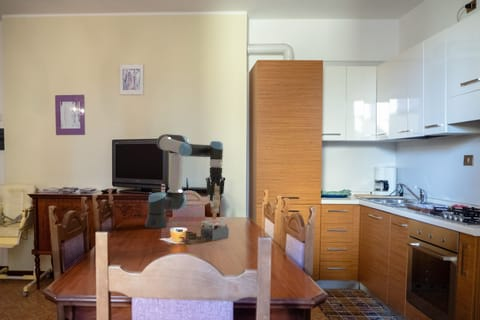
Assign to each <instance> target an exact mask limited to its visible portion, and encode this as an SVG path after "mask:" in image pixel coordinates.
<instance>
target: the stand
mask: <svg viewBox="0 0 480 320" xmlns="http://www.w3.org/2000/svg"><path fill="white" fill-rule="evenodd" d="M185 232H186V237H191V236H197V232H194V231H193V230H192V231H185Z"/></svg>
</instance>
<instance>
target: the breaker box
mask: <svg viewBox="0 0 480 320" xmlns="http://www.w3.org/2000/svg"><path fill="white" fill-rule="evenodd" d="M212 222H218V223H212ZM200 223H201V226H200V236H199V237H202V238H205V239H206V240H209V241H212V242H214V241H218V240H225V239H229V236H230V235H229V232H230V230H229V227H228V225H229V223H230V222H228V221H224V220H220V219H217V218H216V219H209V220H202V221H200ZM215 225H218V227H214V226H215Z"/></svg>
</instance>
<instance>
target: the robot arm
mask: <svg viewBox="0 0 480 320" xmlns="http://www.w3.org/2000/svg"><path fill="white" fill-rule="evenodd" d="M156 146H157V147H158V149H160V150H162V151H165V152H166V151H168V154H169V155H170V169H169V170H170V172H169V189H168V190H167V192H165V191H162V192H161V191H160V192H159V191H158V192H154V193H153V192H152V193H150V194H149V195H148V201H147V202H148V204H147V205H148V207H147V208H148V211H147V218H146V221H145V222H144V225H145V226H144V227H145V228H147V229H165V228H167V227H168V226H169V225H168V219H167V216H166V212H167V211H178V210H182V209H184V207H186V204H187V196H186V194H185V193H184V190H183V187H182V186H183V166H184V157H185V158H187V157H195V158H197V157H198V158H209V166H210V167H209V177H208V176H207V177H205V181H206V194H207V195H208V196H209V201H210V205H209V206H210V207H211V206H213V207H214V195H213V194H214V186H220V189H219V207H220V206H221V199H222V197H221V196H222V195H223V194H224V191H225V183H226V182H225V181H226V177H223V175H222V174H223V157H224V155H223V153H224V143H223V141H218V140H214V141H213V140H212V141H211V142H210V144H196V143H195V144H193V143H190V140H189V139H188V137H187V136H185V135H182V134H168V133H167V134H166V133H165V134H161V135H160V136H158V137H157V139H156Z"/></svg>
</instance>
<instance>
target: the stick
mask: <svg viewBox="0 0 480 320" xmlns="http://www.w3.org/2000/svg"><path fill="white" fill-rule="evenodd" d="M219 189H220V186H216V185H215V186H214V194H213V195H214V207H213V206H210V213H211V214H212V213H213V214H219V213H220V206H219Z"/></svg>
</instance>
